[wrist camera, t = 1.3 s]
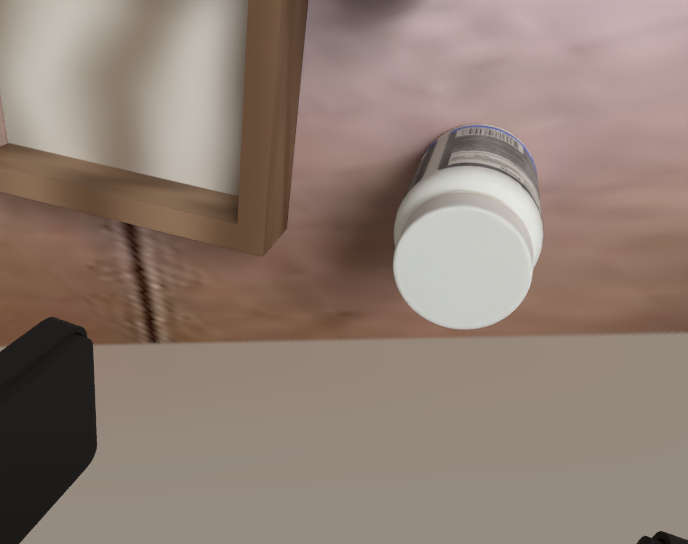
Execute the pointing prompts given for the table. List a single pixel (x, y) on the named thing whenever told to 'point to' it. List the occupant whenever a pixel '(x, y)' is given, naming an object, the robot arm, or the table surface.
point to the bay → (155, 112)
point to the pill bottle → (469, 228)
